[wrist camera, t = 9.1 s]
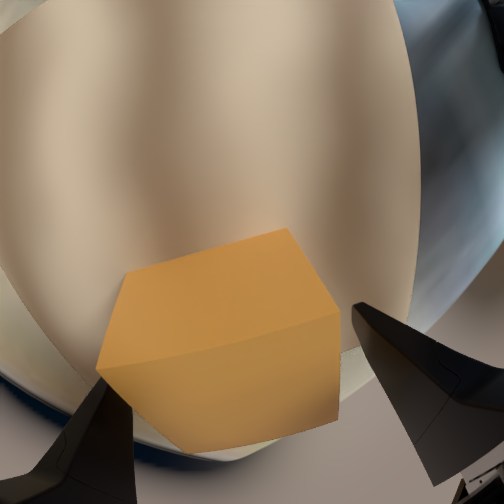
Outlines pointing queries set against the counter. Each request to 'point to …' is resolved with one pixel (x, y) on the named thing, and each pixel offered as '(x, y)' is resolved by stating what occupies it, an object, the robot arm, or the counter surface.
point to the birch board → (203, 149)
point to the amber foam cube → (227, 345)
